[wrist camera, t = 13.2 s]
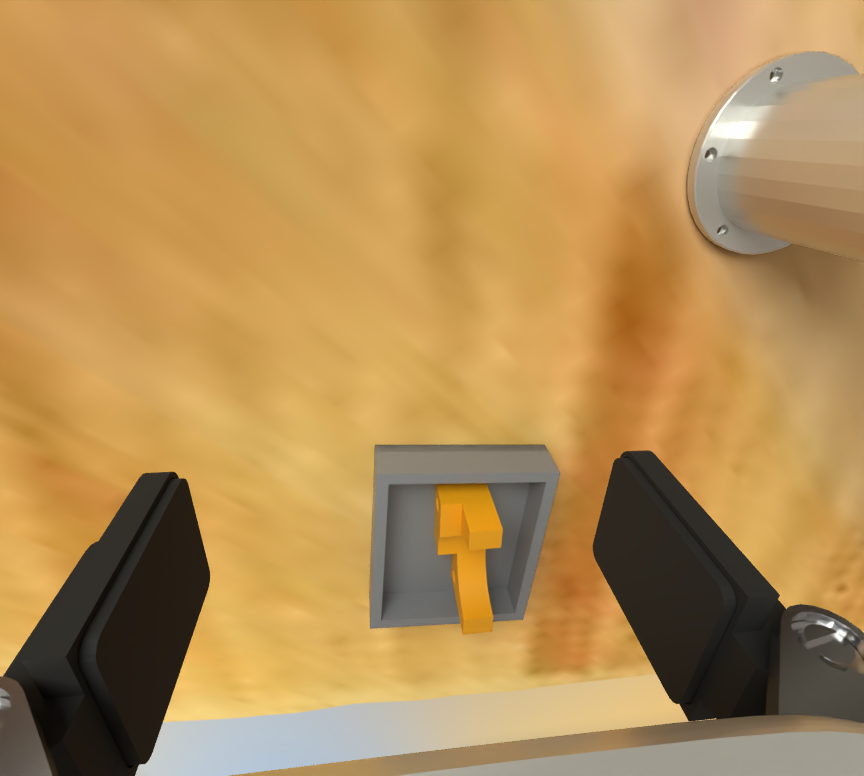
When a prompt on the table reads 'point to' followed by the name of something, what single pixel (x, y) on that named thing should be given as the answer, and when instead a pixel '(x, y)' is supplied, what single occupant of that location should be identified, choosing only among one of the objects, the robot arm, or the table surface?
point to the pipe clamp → (468, 547)
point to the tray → (415, 521)
